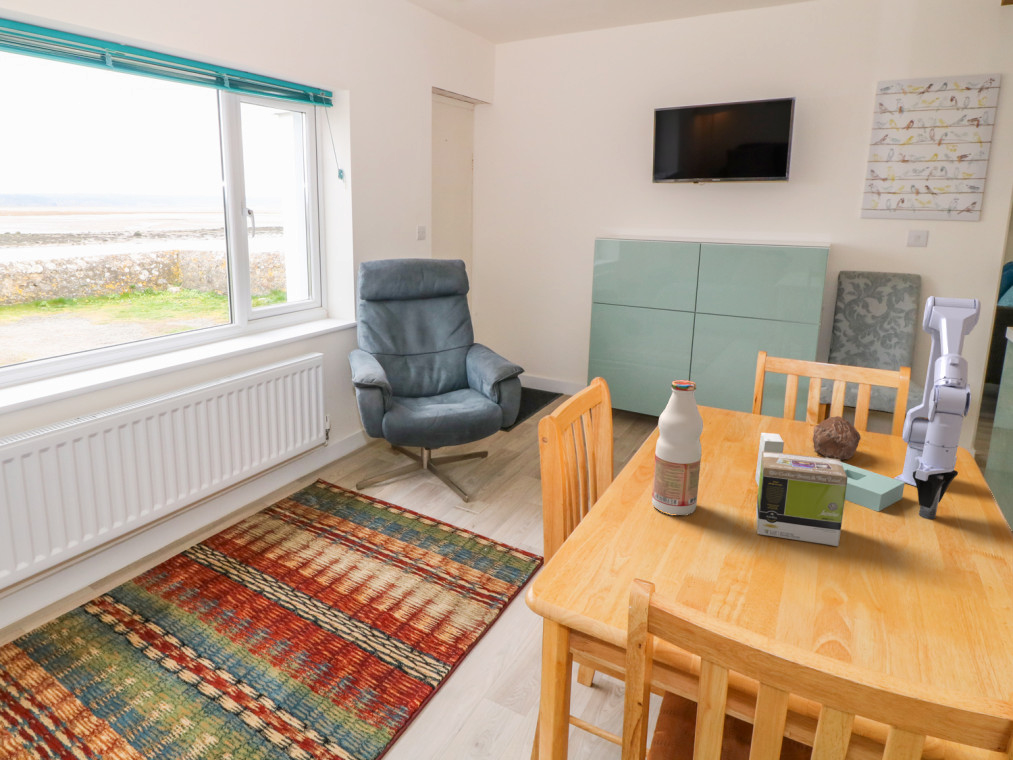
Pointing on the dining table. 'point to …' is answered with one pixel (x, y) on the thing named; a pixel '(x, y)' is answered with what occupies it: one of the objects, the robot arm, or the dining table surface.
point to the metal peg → (931, 512)
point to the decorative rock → (836, 438)
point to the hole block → (871, 488)
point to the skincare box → (768, 448)
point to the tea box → (801, 497)
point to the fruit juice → (678, 452)
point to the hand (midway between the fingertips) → (929, 503)
